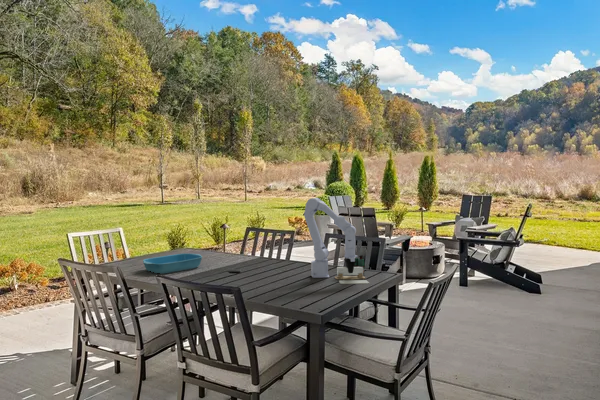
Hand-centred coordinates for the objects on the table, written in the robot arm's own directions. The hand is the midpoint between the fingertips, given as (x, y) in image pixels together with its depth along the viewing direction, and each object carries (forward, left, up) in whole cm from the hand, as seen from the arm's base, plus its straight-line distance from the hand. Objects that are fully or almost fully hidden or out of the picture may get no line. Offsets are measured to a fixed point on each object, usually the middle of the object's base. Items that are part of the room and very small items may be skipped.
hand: (350, 272), depth 237 cm
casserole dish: (-102, +33, -4) cm, 107 cm away
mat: (0, -10, -3) cm, 10 cm away
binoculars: (+6, +13, -3) cm, 15 cm away
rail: (0, 0, -1) cm, 1 cm away
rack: (0, 0, -3) cm, 3 cm away
